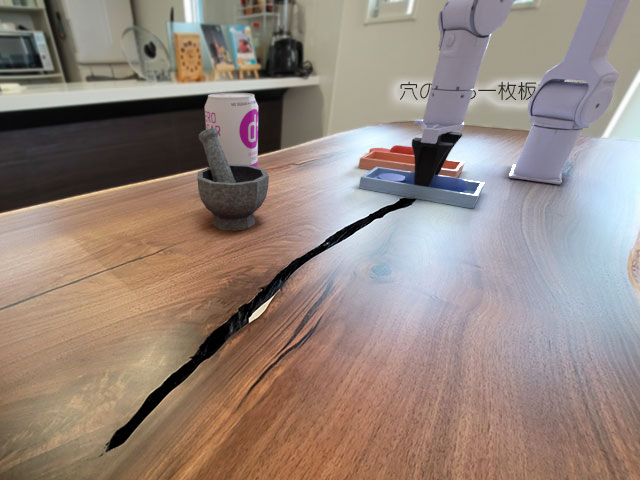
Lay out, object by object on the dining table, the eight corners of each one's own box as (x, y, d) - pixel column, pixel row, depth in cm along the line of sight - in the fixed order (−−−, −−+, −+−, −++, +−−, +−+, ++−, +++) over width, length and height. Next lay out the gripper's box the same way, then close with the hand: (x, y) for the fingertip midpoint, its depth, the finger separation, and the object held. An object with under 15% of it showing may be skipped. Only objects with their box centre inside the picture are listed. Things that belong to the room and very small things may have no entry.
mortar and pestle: (280, 223, 51) (285, 132, 45) (230, 242, 47) (227, 143, 40) (230, 203, 59) (228, 122, 52) (182, 218, 54) (173, 130, 47)
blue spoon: (465, 191, 60) (471, 176, 59) (460, 199, 57) (466, 183, 56) (381, 178, 67) (384, 164, 66) (372, 184, 64) (375, 169, 63)
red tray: (371, 159, 81) (373, 150, 79) (461, 172, 72) (464, 161, 71) (358, 167, 75) (359, 157, 74) (453, 182, 66) (457, 171, 65)
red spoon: (435, 160, 80) (439, 147, 78) (430, 164, 76) (434, 152, 75) (372, 152, 87) (374, 140, 85) (365, 156, 83) (367, 144, 82)
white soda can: (265, 190, 64) (268, 93, 55) (240, 204, 58) (239, 99, 49) (227, 183, 67) (224, 91, 59) (200, 196, 62) (192, 96, 53)
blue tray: (374, 177, 70) (376, 166, 68) (480, 194, 61) (485, 182, 60) (358, 188, 64) (360, 176, 63) (472, 208, 55) (477, 196, 54)
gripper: (433, 84, 60) (412, 168, 68) (410, 91, 50) (388, 188, 58) (481, 86, 57) (453, 174, 64) (466, 94, 47) (435, 196, 55)
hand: (425, 181), depth 61 cm, fingers open, 5 cm apart
